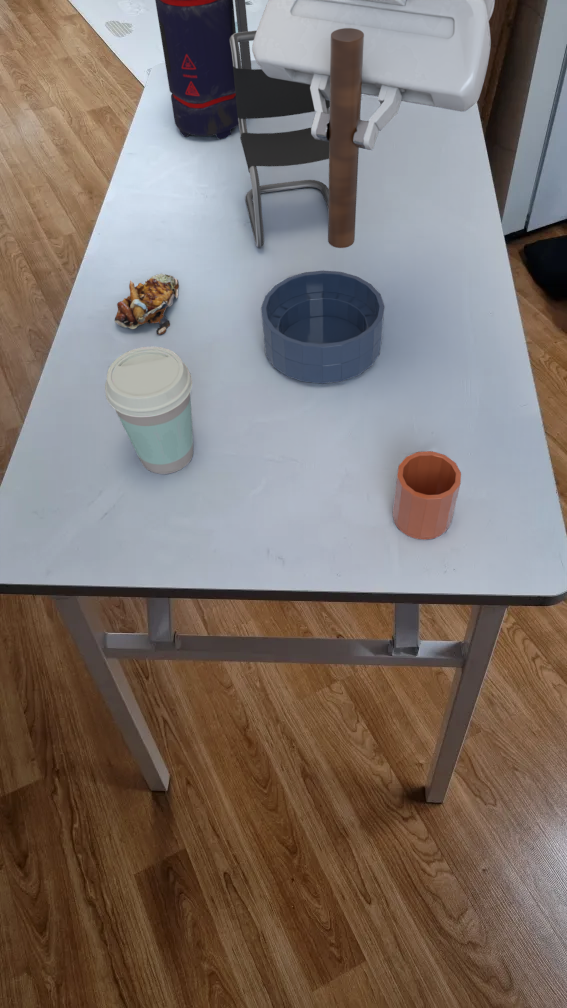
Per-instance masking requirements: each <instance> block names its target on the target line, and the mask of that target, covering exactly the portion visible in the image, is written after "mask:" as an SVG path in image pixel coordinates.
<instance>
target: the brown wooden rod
mask: <svg viewBox="0 0 567 1008" xmlns="http://www.w3.org/2000/svg"><path fill="white" fill-rule="evenodd" d="M363 46H364V33H363V32H362V31H360V30H358V29H353V28H343V29H338V30H335V31H334V32H332V33H331V51H330V125H329V159H328V189H329V200H328V207H327V211H328V212H327V213H328V215H327V243H328V244H329V246H331V247H333V248H337V249H345V248H346V249H347V248H349V247H351V246H353V244H354V243H355V237H356V219H357V218H356V215H357V197H358V196H357V195H358V174H359V153H360V152H359V151H360V148H358V147H356V145H355V144H354V143H353V137H354V133H355V132H356V131H357V129H356V127H357V124H358V121H359V120H361V107H362V94H361V89H362V67H363Z"/></svg>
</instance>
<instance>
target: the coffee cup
mask: <svg viewBox="0 0 567 1008" xmlns="http://www.w3.org/2000/svg"><path fill="white" fill-rule="evenodd" d="M192 388H193V377H192V374H191V372H190V370H189V368H188V366H187V364H185V362H183V360H182V358H181V357H180V356H179V354H177V353H176V352H174V351H173V350H171V349H168V348H165V347H161V346H153V345H152V346H151V345H150V346H141V347H136V348H133V349H131V350H128V351H126V352H123V354H120V355H119V356H118V357H117V358H116V359H115V360H114V361H113V362H112V363H111V364H110V365H109V368H108V370H107V372H106V380H105V384H104V390H105V391H104V392H105V398H106V401H107V403H108V404H109V406H110V407H111V408H113V409H114V411H115V412H116V414H117V417H118V418H119V421H120V423H121V425H122V426H123V429H124V431H125V433H126V435H127V437H128V439H129V441H130V442H131V445H132V447H133V448H134V450H135V453H136V455H137V456H138V459H139V461H140V463H141V465H142V466H143V467H144V468H145V469H146V470H148V472H151V473H154V474H159V475H169V474H173V473H177V472H178V471H181V470H182V469H184V468H185V467H186V466H188V464H189V463H190V462H191V460H192V459H193V456H194V438H193V421H192V420H193V419H192V401H191V391H192Z"/></svg>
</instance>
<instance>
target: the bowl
mask: <svg viewBox="0 0 567 1008" xmlns="http://www.w3.org/2000/svg"><path fill="white" fill-rule="evenodd" d="M263 298H264V299H263V301H262V304H261V307H260V311H261V313H260V314H261V323H262V336H263V345H264V351H265V356H266V357H267V359H268V361H269V362H270V363H271V365H272V366H273V368H275V369H276V370H277V371H279V372H281V373H282V374H283V375H285V376H286V377H288V378H291V379H294V380H297V381H300V382H303V383H313V384H330V383H336V382H337V383H338V382H343V381H346V380H349V379H352V378H354V377H358V376H360V375H361V374H362V373H364V372H365V371H367V370H368V369H369V368H372V366H373V365H374V363H375V362H376V360H377V359H378V357H379V356H380V354H381V349H382V344H383V343H382V342H383V333H384V332H383V331H384V319H385V318H384V317H385V303H384V300H383V297H382V295H381V293H380V292H379V291H378V289H377V288H376V287H375V286H374V285H373V284H371V283H370V282H368V281H367V280H364V279H363V278H361V277H359V276H357V275H354V274H351V273H347V272H343V271H334V270H324V269H323V270H314V271H305V272H302V273H299V274H295V275H292V276H289V277H287V278H285V279H283V280H282V281H280V282H278V283H277V284H275V285H273V287H272V288H271V289H270V290H269V291H268V292H267V293H266V294H265V295H264V297H263Z"/></svg>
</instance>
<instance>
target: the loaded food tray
mask: <svg viewBox="0 0 567 1008" xmlns="http://www.w3.org/2000/svg"><path fill="white" fill-rule="evenodd" d="M179 287H180V285H179V280H178V279H177V278H176V277H174V276H173V275H169V274H165V273H162V272H160V273H159V274H158V273H157V274H156V275H152V276H151V277H150V278H149V279H147V280H145V281H144V283H142V282H139V283H138V284H137V285H136V286H135V282H133V281H132V280H131V279H130V280H129V285H128V288H129V295H128V296H127V297H125V298H123V300H121V301H119V302H117V303H116V306H117V312H116V314H115V317H114V323H116V324H117V325H118V326H120V327H121V328H129V329H130V330H135V329H137V327H139V326H142V325H144V324H149V325H150V324H157V323H159V326H158V327H157V328H156V330H155V333H156V335H158V336H159V335H164V334H166V332H167V329H168V327H170V326H171V321H170V320H169V318H167V317H166V316H165V315H164V314H165V311H166V309H167V308H170V307H172V306H173V304H174V299H177V300H178V297H179V293H178V292H179Z"/></svg>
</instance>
